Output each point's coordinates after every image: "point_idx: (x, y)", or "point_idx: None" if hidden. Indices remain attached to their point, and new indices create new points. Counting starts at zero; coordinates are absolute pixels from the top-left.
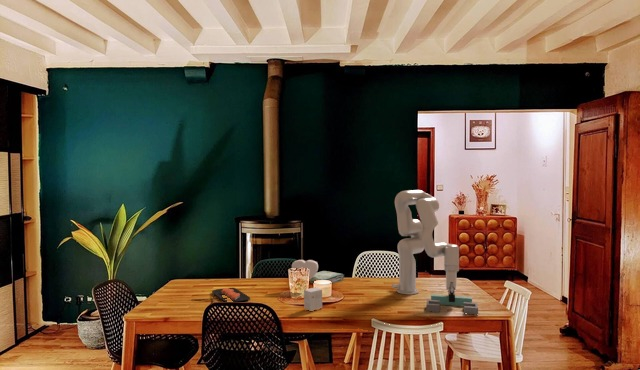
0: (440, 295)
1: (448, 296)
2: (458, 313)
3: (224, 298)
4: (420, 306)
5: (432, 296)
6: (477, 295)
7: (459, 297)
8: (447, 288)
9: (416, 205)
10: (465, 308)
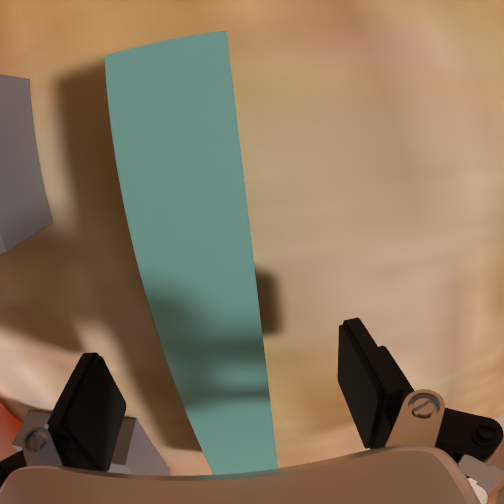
0: (213, 231)
1: (208, 365)
2: (15, 381)
3: None
4: (11, 28)
5: (112, 84)
6: (490, 404)
7: (223, 458)
8: (3, 490)
9: None
10: (18, 443)
